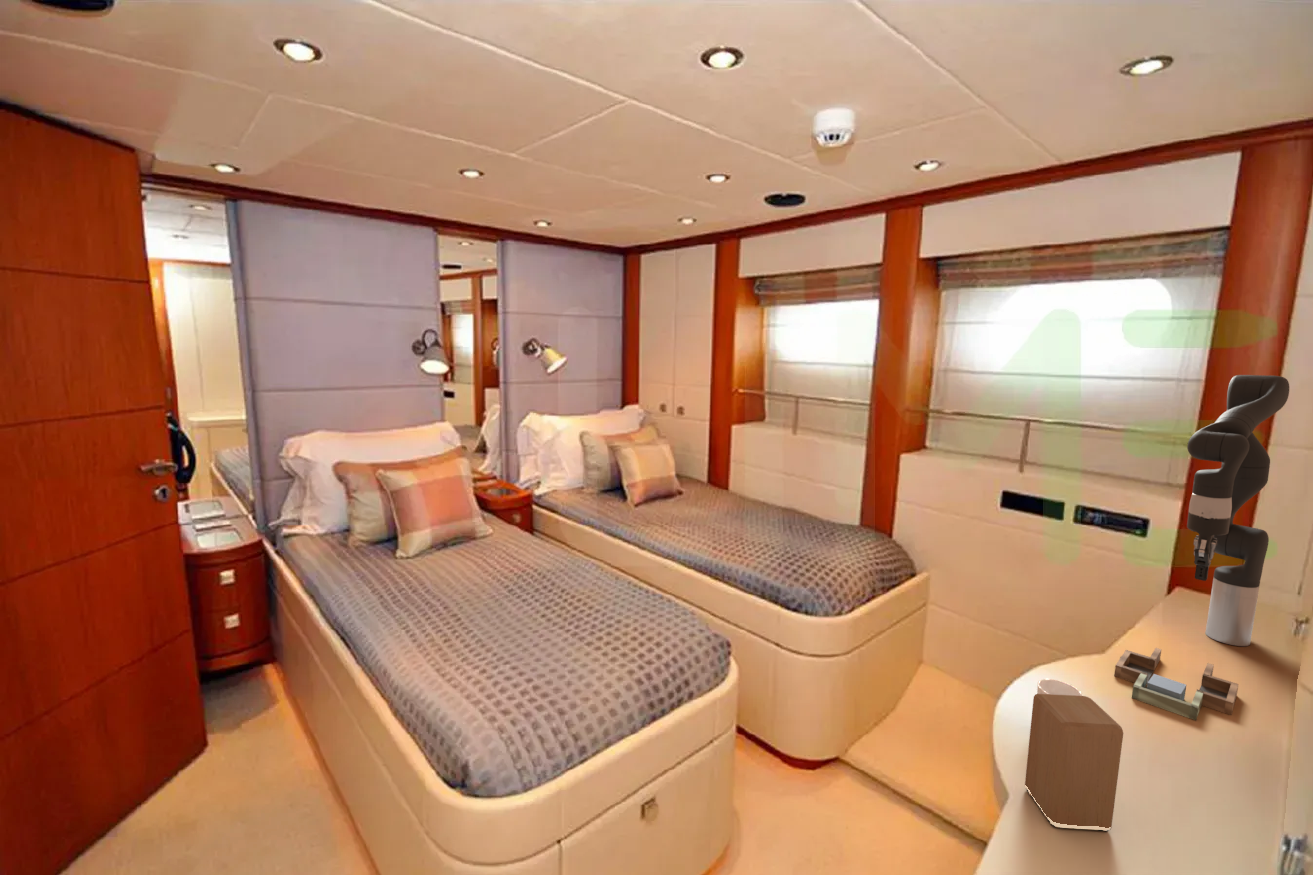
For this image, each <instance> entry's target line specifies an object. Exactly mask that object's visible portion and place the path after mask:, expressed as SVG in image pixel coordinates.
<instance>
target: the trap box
mask: <svg viewBox="0 0 1313 875" xmlns="http://www.w3.org/2000/svg"><path fill="white" fill-rule="evenodd" d="M1161 655H1162V649H1161V648H1158V647H1155V648H1154V650H1153V651H1152V653H1151V654H1150V656H1147V655H1144V654H1141V653H1138V652H1134V651H1131V650H1128V649H1125V650H1124V652H1123V653H1122V655H1121V656H1120V658H1119V659H1118V661H1117V662H1116V664H1115V667H1114V674H1113V676H1114V677H1116V678H1119V679H1122V680H1125V681H1128V682H1130V683H1133V686H1132V692H1131V698H1132V699H1133V700H1136V701H1140V702H1143V703H1145V704H1148V705H1149V706H1153V707H1156V708H1159V709H1162V710H1164V711H1168V712H1171V713H1172V714H1173V713H1174V714H1176V715H1179V716H1182V717H1185V718H1188V719H1190V720H1193V721H1197V718H1198V716H1199V713H1200V711H1201V707H1205V708H1209V709H1211V710H1214V711H1218V712H1220V713H1222V714H1223V713H1224V714H1226V715H1229V716H1232V714H1233V710H1234V707H1235V705H1236V704H1235V703H1236V699H1237V695H1238V690H1239V683H1237V682H1234V681H1231V680H1227V679H1223V678H1220V677H1217V676H1214V674H1213V673H1214V668H1215V666H1214V664H1213V663H1209V662H1208V663H1206V665H1205V667H1204V669H1203V673H1202V677H1201V682H1200V683H1201V684H1200V687H1199V689H1197V688H1196V691H1195V693H1194V696H1193V699H1192V701H1191V703H1190V702H1188V701H1185V700H1184V701H1182V700H1179V699H1176V698H1173V697H1170V696H1167V695H1164V694H1161V693H1158V692H1155V691H1152V690H1149V689H1147V683H1148V681H1149V680H1150V679H1151V677H1152V676H1153V674H1154V672H1155V670H1156V668H1157V666H1158V664H1159V662H1160V661H1161Z"/></svg>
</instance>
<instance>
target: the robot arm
mask: <svg viewBox="0 0 1313 875" xmlns="http://www.w3.org/2000/svg"><path fill="white" fill-rule="evenodd" d="M1289 395H1290V383H1289V381H1288V379H1287V378H1286V377H1284V376H1279V375H1270V374H1269V375H1262V374H1261V375H1258V374H1237V375H1233V377H1232V378H1231V379H1230V380H1229V383H1228V388H1227V393H1226V411H1224V412H1223V413H1222V414H1221V415H1219V416H1218V418H1217V419H1216V420H1215V421H1214V423H1210V424H1209V425H1207V426H1204V427H1202V428H1200V429H1199V430H1197V431H1195V432H1194V434H1192V435H1191V436H1190V438H1189V440H1188V442H1187V445H1186V447H1187V451H1188V454H1189V455H1190V456H1191V457H1192V458H1195V459H1197V460H1200V461H1201V460H1202V461H1209V462H1218V463H1219V462H1220V463H1221V467H1220V468H1215V469H1209V468H1208V469H1200V470H1197V471H1196V472H1195V473H1194V476H1193V477H1194V478H1193V485H1192V494H1191V496H1190V500H1189V503H1188V504H1189V505H1188V512H1187V513H1188V514H1187V522H1186V528H1187V529H1188V530H1189V531H1191V532H1194V533H1197V534H1198V535H1196V536H1195V537H1194V539H1193V546H1194V548H1193V555H1194V561H1193V563H1194V565H1195V570H1194V571H1195V573H1194V579H1196V580H1198V581H1204V582H1205V581H1207V580H1208V577H1209V570H1210V569H1209V568H1210V566H1211V563H1212V560H1213V558H1214V555H1215V553H1216V554H1219V555H1222V556H1226V557H1230V558H1235V559H1240V560H1244V563H1243V564H1240V565H1222V566H1217V567H1216V568H1215V569H1214V572H1213V579H1212V586H1211V593H1210V600H1209V605H1208V606H1209V607H1208V613H1207V621H1206V626H1205V635H1206V636H1207V637H1208V638H1210V639H1212V640H1214V641H1217V642H1220V643H1223V644H1227V645H1232V646H1236V647H1237V646H1238V647H1248V646H1251V641H1252V635H1253V634H1252V633H1253V629H1254V624H1255V623H1254V622H1255V616H1256V610H1257V604H1258V599H1259V598H1258V597H1259V591H1260V584H1261V579H1262V575H1263V567H1264V563H1265V559H1266V555H1267V551H1268V547H1269V540H1270V539H1269V534H1268V532H1267V531H1266V530H1264V529H1262V528H1258V527H1250V526H1246V525H1240V524H1235V523H1234V518H1235V515H1236V514H1237V512H1238V511H1239V510H1240V509H1241V508H1242V507H1243V505H1244V504H1246V503H1247V502H1248V501H1249V500H1251V499H1252V498H1253V497H1254V496H1255V495H1257V494H1258V493H1259V492H1261V490H1262V489H1264V487H1265V486H1266V485H1267V483H1268V481H1269V474H1270V467H1271V466H1270V465H1271V457H1270V455H1269V453H1268V451H1267V450H1266V449H1265V447H1264V445H1263V444H1262V443H1261V442H1260V440H1259V439H1258V438H1257V436H1256V435H1255V434H1254V433H1253V431H1254V430H1255V429H1256V428H1257V426H1258V425H1260V424H1261V423H1263V422H1264V421H1266V420H1267V419H1269V418H1271V417H1272V416H1273V415H1275V414H1276V413H1278V412H1279V411H1280V410H1281V409H1282V408H1283V407H1285V405H1286V403H1287V401H1288V399H1289Z"/></svg>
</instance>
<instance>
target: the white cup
mask: <svg viewBox="0 0 1313 875" xmlns="http://www.w3.org/2000/svg"><path fill="white" fill-rule="evenodd" d="M1036 690H1037V692H1036V694H1055V695H1075V696H1083V693H1081V690H1079V689H1078V688H1077V687H1075V686H1073V685H1072V684H1070V683H1067V682H1064V681H1061V680H1058V679H1052V678H1045V679H1044V678H1043V679H1041V680H1038V682H1037V689H1036Z"/></svg>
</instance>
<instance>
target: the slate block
mask: <svg viewBox="0 0 1313 875" xmlns="http://www.w3.org/2000/svg"><path fill="white" fill-rule="evenodd" d="M1146 689H1149V690H1152V691H1155V692H1158V693H1161V694H1164V695H1167V696H1170V697H1173V698H1176V699H1179V700H1182V701H1185V698H1186V689H1187V684H1185V683H1182V682H1180V681H1176V680H1174V679H1170V678H1168V677H1165V676H1162V675H1158V674H1156V673H1153V674H1152V675H1151V677H1150V679H1149V681H1148V683H1147V685H1146Z"/></svg>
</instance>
